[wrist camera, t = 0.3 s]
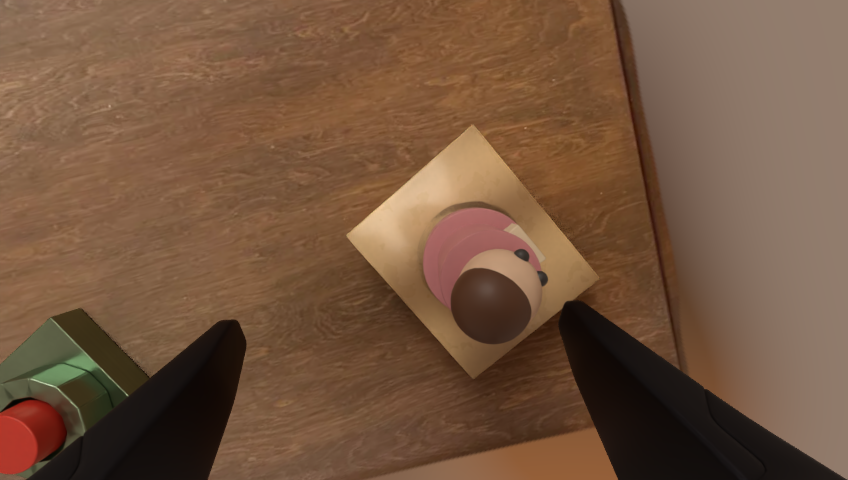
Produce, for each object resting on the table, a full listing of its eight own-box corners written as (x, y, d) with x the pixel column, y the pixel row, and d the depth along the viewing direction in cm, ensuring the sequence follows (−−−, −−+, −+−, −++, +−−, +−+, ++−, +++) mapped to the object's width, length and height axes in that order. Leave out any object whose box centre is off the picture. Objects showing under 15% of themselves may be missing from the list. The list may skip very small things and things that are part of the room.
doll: (467, 326, 22) (497, 425, 12) (402, 252, 21) (382, 296, 12) (544, 263, 21) (639, 315, 12) (480, 186, 21) (524, 175, 11)
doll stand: (582, 270, 24) (600, 278, 21) (468, 361, 25) (473, 380, 22) (468, 131, 23) (473, 123, 21) (353, 232, 24) (345, 235, 21)
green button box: (181, 410, 25) (136, 449, 22) (105, 476, 26) (48, 526, 22) (80, 307, 25) (13, 328, 21) (4, 378, 25) (-75, 411, 21)
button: (80, 429, 22) (50, 449, 20) (41, 464, 22) (8, 486, 20) (37, 387, 22) (2, 403, 20) (-2, 423, 22) (-40, 442, 20)
